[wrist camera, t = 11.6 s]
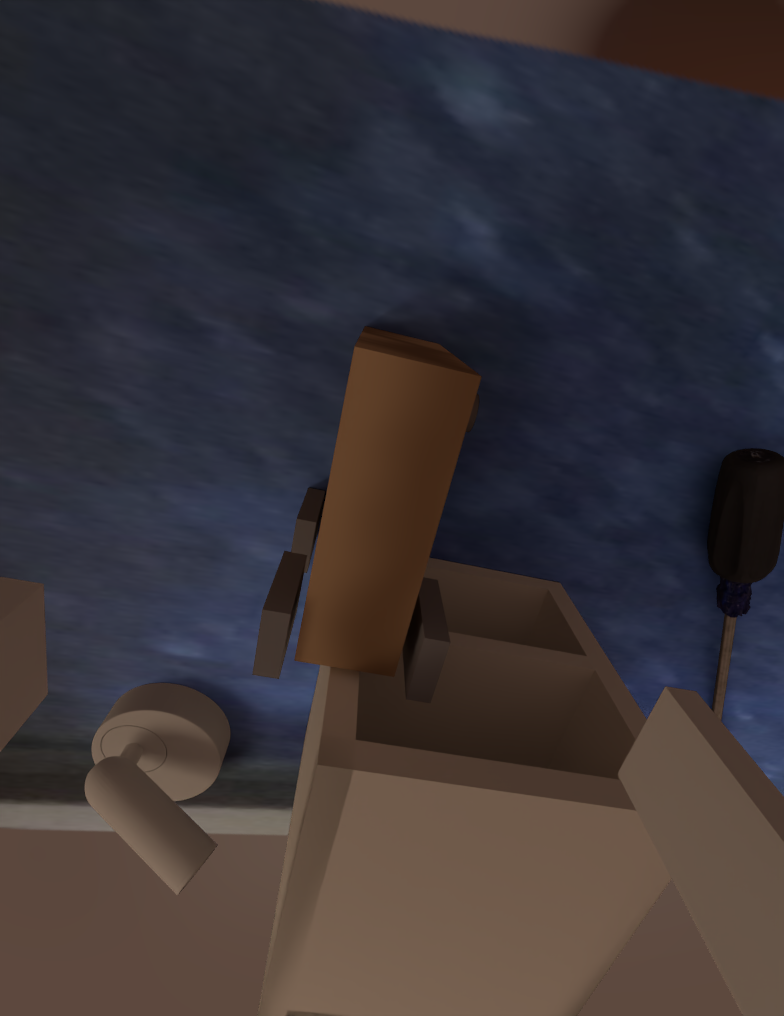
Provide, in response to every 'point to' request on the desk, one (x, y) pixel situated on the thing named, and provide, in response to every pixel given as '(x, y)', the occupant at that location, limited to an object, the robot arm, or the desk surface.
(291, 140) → the desk surface
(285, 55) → the desk surface
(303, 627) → the door
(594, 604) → the desk surface
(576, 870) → the cabinet
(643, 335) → the desk surface
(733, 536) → the screwdriver
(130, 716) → the wall hook
